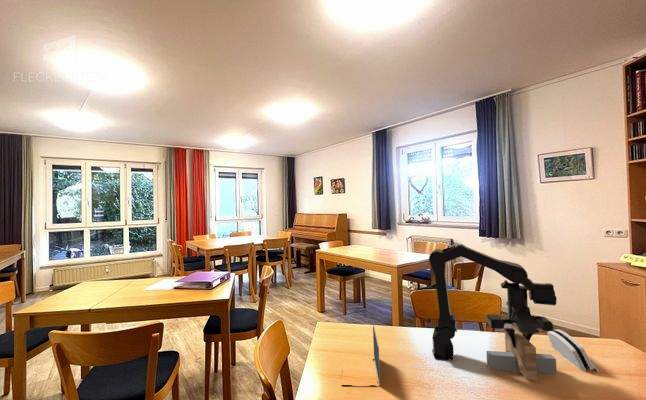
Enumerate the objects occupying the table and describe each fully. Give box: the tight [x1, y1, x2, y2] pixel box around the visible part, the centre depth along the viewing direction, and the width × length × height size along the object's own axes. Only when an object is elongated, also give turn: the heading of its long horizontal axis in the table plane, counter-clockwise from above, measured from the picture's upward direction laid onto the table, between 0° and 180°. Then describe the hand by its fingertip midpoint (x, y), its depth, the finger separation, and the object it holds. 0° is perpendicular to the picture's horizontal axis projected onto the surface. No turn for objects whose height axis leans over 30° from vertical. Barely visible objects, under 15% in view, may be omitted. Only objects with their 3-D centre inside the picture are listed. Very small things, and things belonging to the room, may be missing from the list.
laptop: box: [372, 324, 381, 386], centre depth 103 cm, size 18×12×13 cm
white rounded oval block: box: [546, 329, 600, 373], centre depth 106 cm, size 17×5×10 cm, turn 171°
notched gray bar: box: [486, 350, 558, 375], centre depth 100 cm, size 20×3×5 cm, turn 78°
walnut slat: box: [504, 325, 538, 381], centre depth 100 cm, size 16×3×10 cm, turn 168°
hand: (519, 347), depth 100 cm, fingers closed on walnut slat, 3 cm apart
